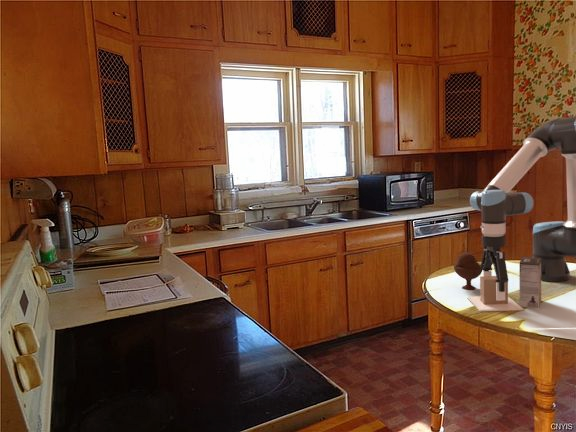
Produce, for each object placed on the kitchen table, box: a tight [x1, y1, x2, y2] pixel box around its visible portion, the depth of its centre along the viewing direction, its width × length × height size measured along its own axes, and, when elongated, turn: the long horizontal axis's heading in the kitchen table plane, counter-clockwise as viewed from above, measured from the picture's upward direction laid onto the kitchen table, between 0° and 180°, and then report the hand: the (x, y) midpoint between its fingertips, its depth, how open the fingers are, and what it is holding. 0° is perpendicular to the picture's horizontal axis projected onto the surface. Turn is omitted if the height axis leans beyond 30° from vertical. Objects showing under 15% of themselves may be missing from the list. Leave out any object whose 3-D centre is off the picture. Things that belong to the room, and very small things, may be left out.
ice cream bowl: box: [453, 252, 483, 291], centre depth 173 cm, size 11×11×15 cm
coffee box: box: [519, 256, 542, 310], centre depth 152 cm, size 9×6×16 cm
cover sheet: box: [467, 275, 524, 312], centre depth 154 cm, size 14×14×10 cm
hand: (493, 294), depth 154 cm, fingers open, 12 cm apart
